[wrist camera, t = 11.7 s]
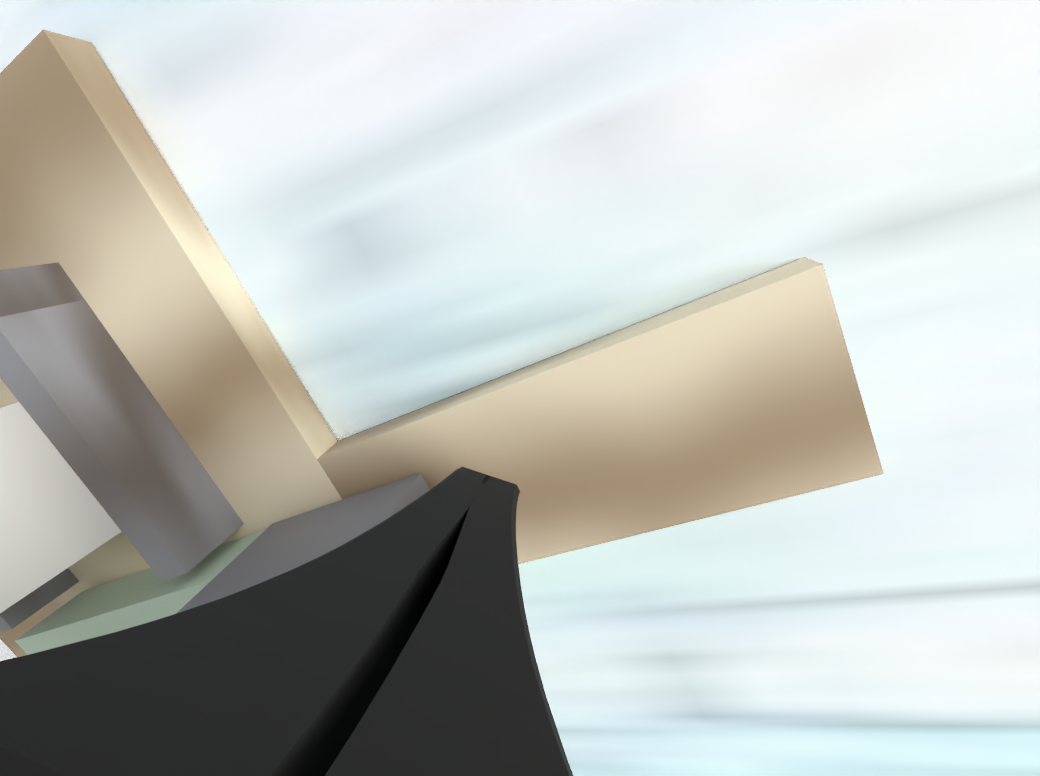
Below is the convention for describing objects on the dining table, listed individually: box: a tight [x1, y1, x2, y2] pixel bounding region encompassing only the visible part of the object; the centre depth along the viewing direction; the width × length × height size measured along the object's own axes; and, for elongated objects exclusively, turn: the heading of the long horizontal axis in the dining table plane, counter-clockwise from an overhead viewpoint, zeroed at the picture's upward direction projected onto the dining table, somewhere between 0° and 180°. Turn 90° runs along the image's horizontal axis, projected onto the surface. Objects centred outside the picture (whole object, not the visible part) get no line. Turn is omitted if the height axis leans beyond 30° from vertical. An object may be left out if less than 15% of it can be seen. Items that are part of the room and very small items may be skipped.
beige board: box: [0, 30, 883, 657], centre depth 13 cm, size 15×30×3 cm, turn 115°
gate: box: [15, 473, 430, 655], centre depth 13 cm, size 1×14×4 cm, turn 116°
